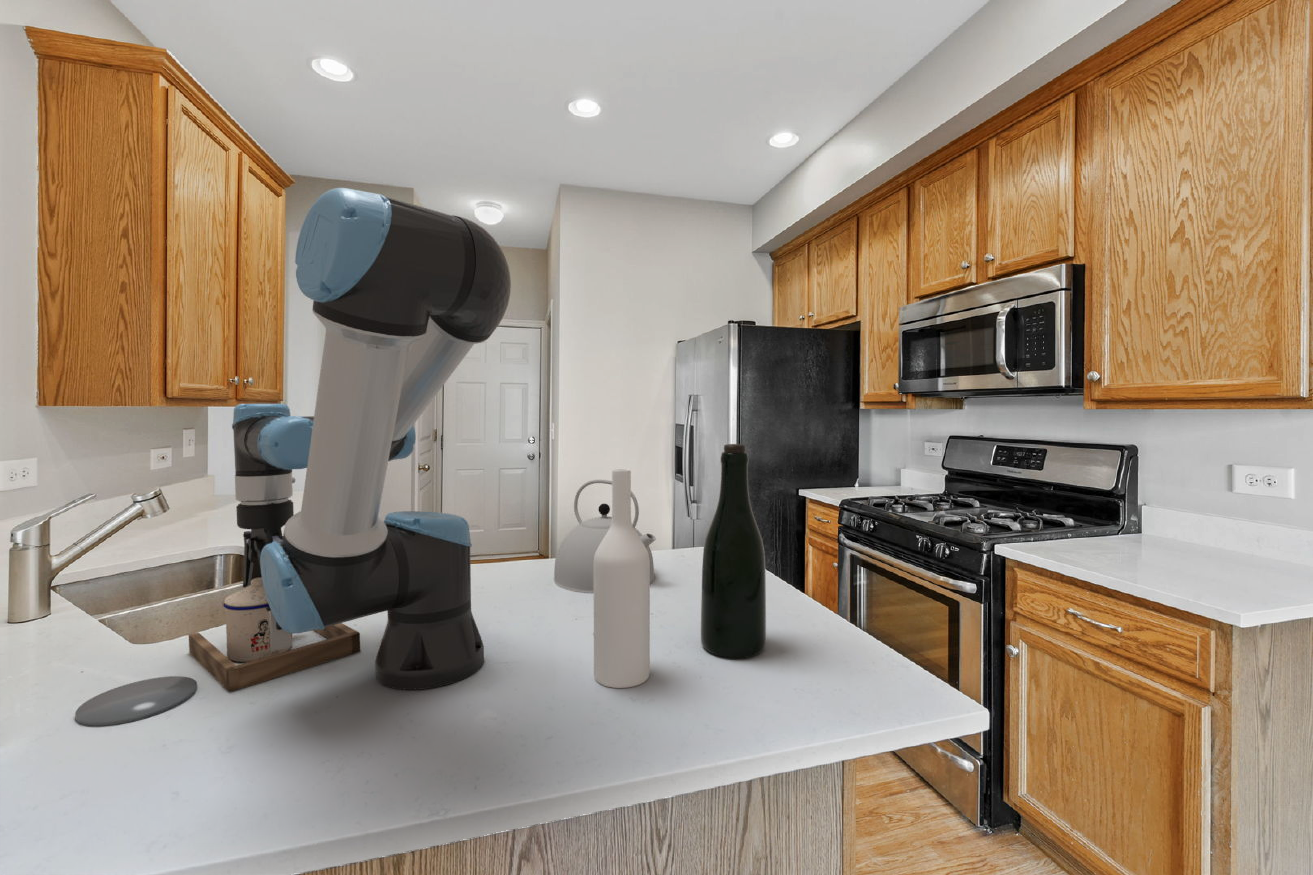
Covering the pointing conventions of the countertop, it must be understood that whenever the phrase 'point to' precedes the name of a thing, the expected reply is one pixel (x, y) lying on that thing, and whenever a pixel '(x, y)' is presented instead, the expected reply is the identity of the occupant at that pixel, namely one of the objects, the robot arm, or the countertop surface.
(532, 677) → the countertop surface
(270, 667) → the wooden tray
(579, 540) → the kettle
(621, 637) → the bottle
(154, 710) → the coaster
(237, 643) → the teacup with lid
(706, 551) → the dark green wine bottle
